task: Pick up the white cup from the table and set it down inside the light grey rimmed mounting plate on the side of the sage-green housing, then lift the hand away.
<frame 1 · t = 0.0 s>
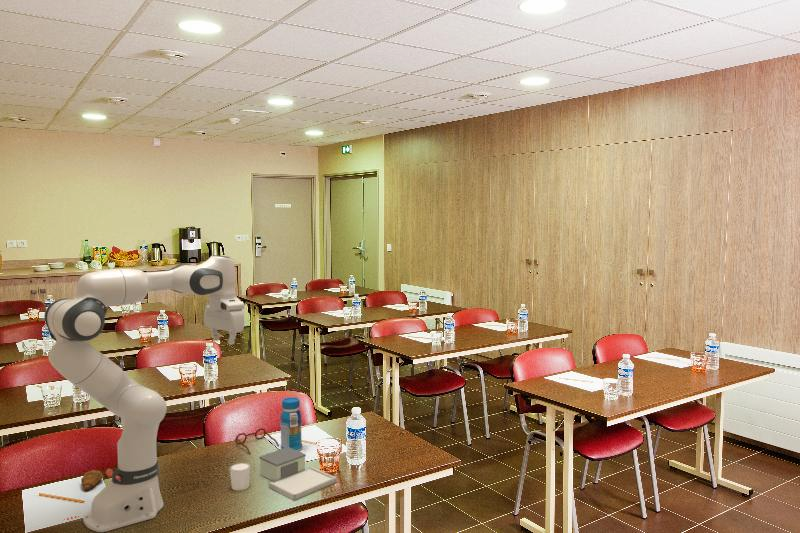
hand: (223, 342, 204), 48 cm above the table, tool pointing down, fingers open, 8 cm apart
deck: (291, 479, 207), on the table
beverage bottle: (291, 449, 234), on the table
croissant: (92, 484, 203), on the table
white cup: (240, 487, 201), on the table
glasses: (257, 447, 237), on the table
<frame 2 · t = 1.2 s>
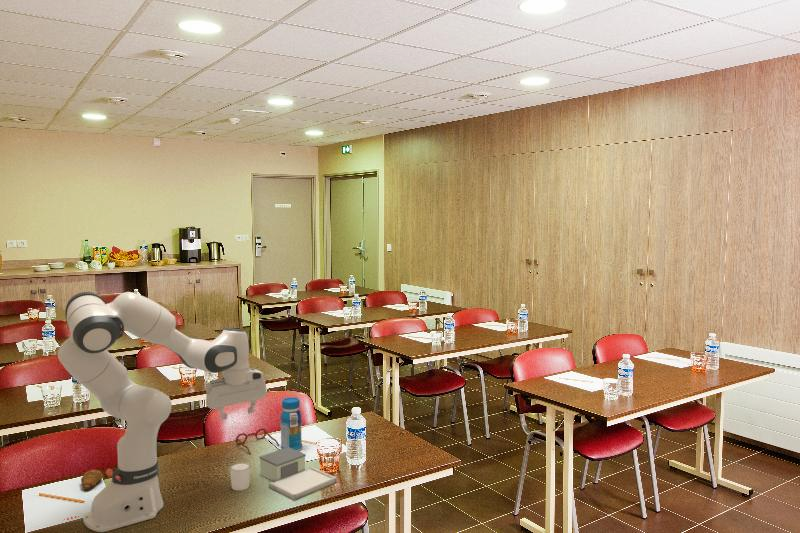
hand: (237, 415, 200), 24 cm above the table, tool pointing down, fingers open, 8 cm apart
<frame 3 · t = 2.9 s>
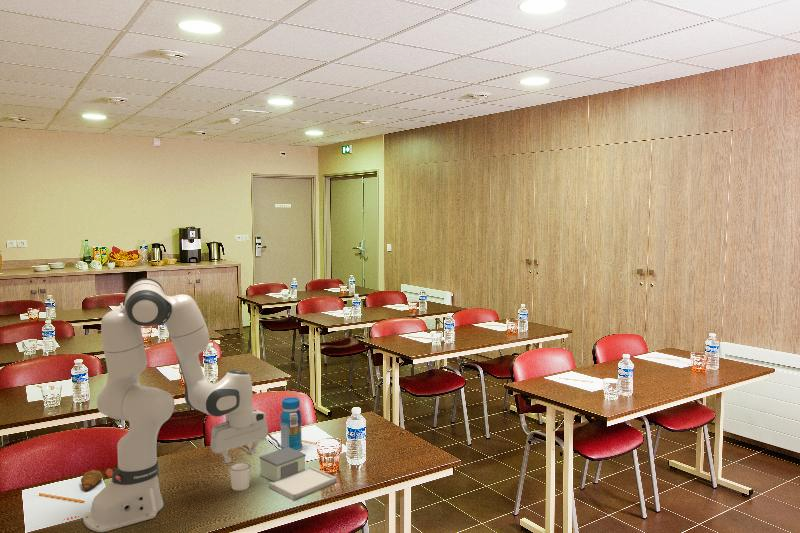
hand: (240, 457, 200), 10 cm above the table, tool pointing down, fingers open, 8 cm apart
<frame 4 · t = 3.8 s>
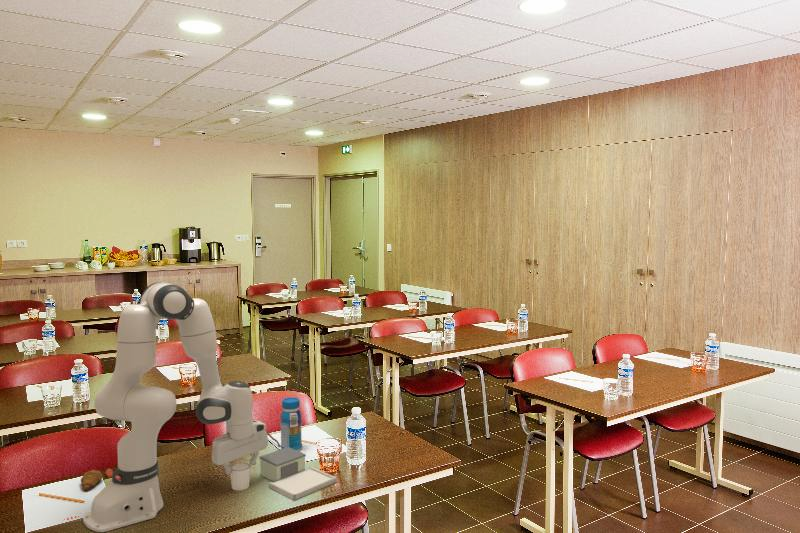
hand: (241, 468, 201), 6 cm above the table, tool pointing down, fingers open, 8 cm apart
white cup: (240, 487, 201), on the table, touching gripper
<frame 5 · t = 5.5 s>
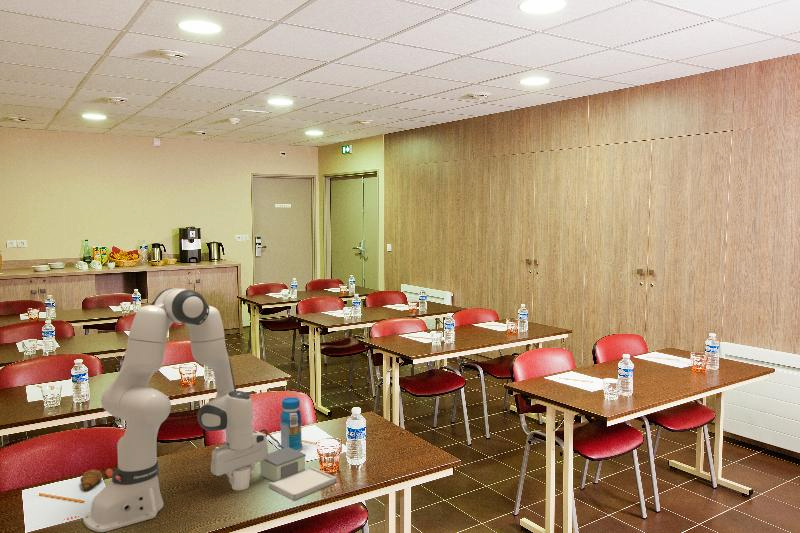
hand: (240, 479, 201), 2 cm above the table, tool pointing down, fingers closed on white cup, 5 cm apart
white cup: (240, 487, 201), on the table, touching gripper
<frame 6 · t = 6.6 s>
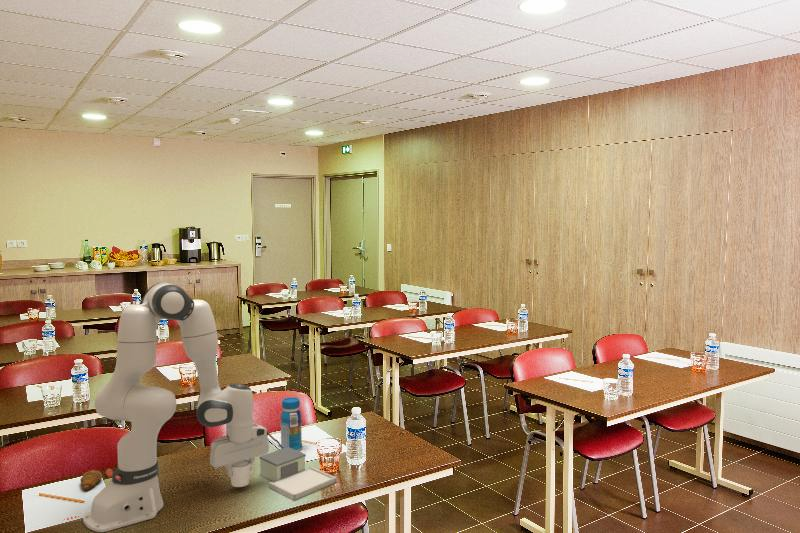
hand: (240, 473, 199), 5 cm above the table, tool pointing down, fingers closed on white cup, 5 cm apart
white cup: (240, 484, 199), point 2 cm above the table, touching gripper
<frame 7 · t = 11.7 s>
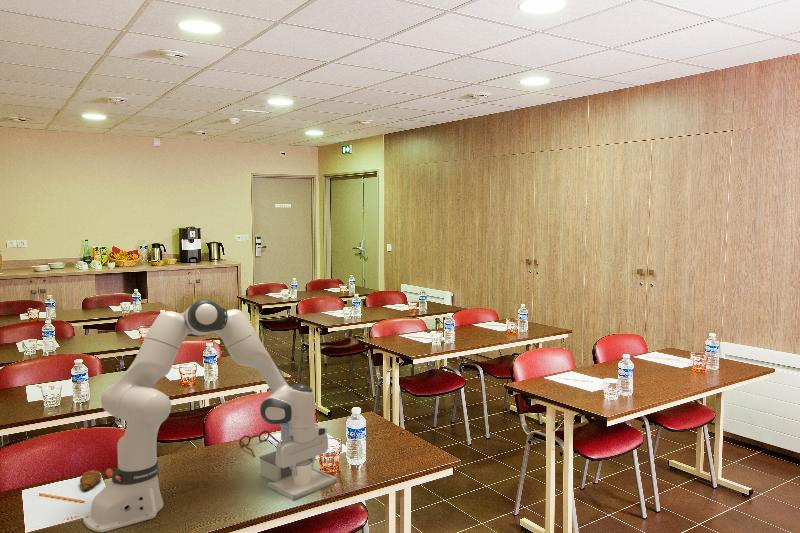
hand: (302, 472, 202), 4 cm above the table, tool pointing down, fingers closed on white cup, 5 cm apart
white cup: (302, 482, 203), point 1 cm above the table, touching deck, gripper
glasses: (261, 449, 235), on the table
everything else where it was.
when the fingers open (4 cm above the table, at t = 12.2 s): white cup stays where it is, resting on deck.
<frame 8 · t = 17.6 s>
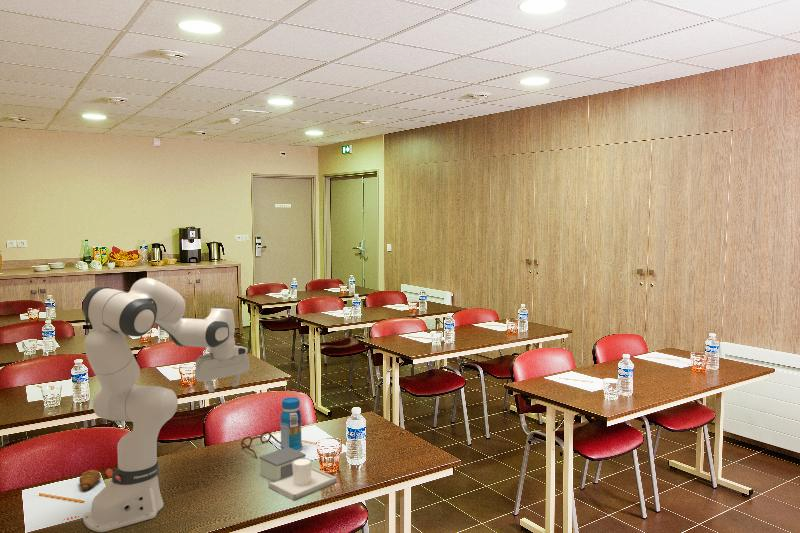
hand: (223, 389, 214), 29 cm above the table, tool pointing down, fingers open, 8 cm apart
white cup: (302, 482, 203), point 1 cm above the table, touching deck
glasses: (263, 450, 234), on the table
everything else where it was.
at the end: white cup inside the target area on the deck (0.1 cm from its centre), point 0.8 cm above the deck's base; white cup tilted 0°; the gripper is holding nothing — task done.
